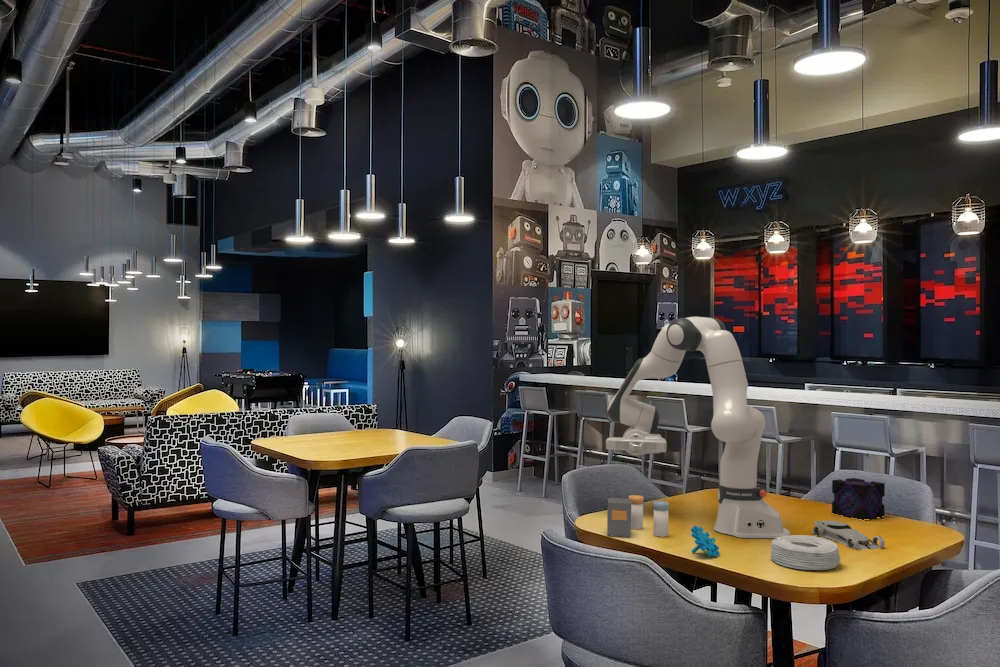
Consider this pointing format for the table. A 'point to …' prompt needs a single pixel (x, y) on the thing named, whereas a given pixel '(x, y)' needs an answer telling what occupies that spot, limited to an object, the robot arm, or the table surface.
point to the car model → (845, 535)
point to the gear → (704, 542)
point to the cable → (805, 552)
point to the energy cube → (858, 498)
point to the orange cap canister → (636, 511)
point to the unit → (619, 517)
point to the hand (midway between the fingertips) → (636, 447)
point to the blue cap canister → (661, 518)
